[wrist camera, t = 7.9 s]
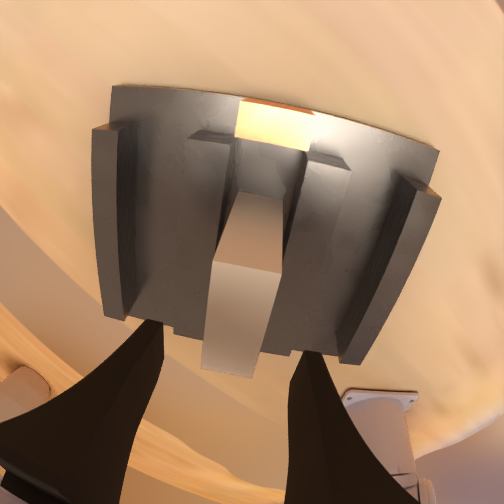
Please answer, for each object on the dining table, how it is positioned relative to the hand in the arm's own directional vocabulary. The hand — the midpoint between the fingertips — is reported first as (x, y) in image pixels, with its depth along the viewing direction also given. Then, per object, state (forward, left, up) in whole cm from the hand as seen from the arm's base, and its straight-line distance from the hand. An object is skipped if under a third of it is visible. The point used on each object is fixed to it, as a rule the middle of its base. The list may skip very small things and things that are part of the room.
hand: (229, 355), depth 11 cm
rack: (0, 0, -9) cm, 9 cm away
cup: (-27, +25, -10) cm, 38 cm away
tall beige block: (0, 0, -8) cm, 8 cm away
